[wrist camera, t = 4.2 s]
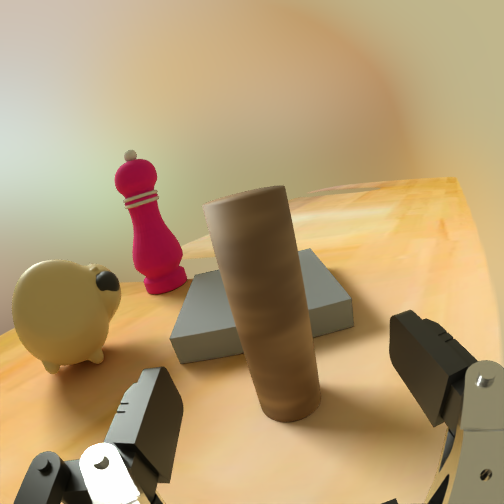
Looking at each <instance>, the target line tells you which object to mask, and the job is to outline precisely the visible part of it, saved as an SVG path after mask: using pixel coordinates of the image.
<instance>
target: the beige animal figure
mask: <svg viewBox="0 0 504 504" xmlns="http://www.w3.org/2000/svg"><path fill="white" fill-rule="evenodd" d="M120 300H121V288H120V285H119V281H118V278H117V277H116V276H115V274H114V273H112V272H111V271H110V270H108V269H107V268H106V267H104V266H102V265H98V264H92V263H91V264H90V265H86V266H82V265H79V264H77V263H74V262H70V261H66V260H47V261H43V262H40V263H37V264H35V265H33V266H31V267H30V268H28V269H27V270H26V271H25V272H24V273H23V275H22V276H21V277H20V278H19V280H18V282H17V285H16V287H15V290H14V294H13V300H12V315H13V322H14V325H15V329H16V332H17V334H18V336H19V338H20V340H21V342H22V344H23V345H24V346H25V348H26V349H27V350H28V351H29V352H30V353H31V354H32V355H33V356H35V357H36V358H38V359H39V360H41V361H42V363H43V365H44V367H45V369H46V370H47V371H48V372H49V373H50V374H56V373H58V372H59V369H60V366H66V365H73V364H77V363H80V362H83V361H85V360H90V361H91V362H93V363H96V364H99V363H101V362H102V361H103V359H104V355H103V352H102V349H101V348H102V346H103V344H104V343H105V340H106V338H107V335H108V330H109V322H110V320H111V319H112V317H113V315H114V314H115V312H116V310H117V308H118V306H119V304H120Z"/></svg>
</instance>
